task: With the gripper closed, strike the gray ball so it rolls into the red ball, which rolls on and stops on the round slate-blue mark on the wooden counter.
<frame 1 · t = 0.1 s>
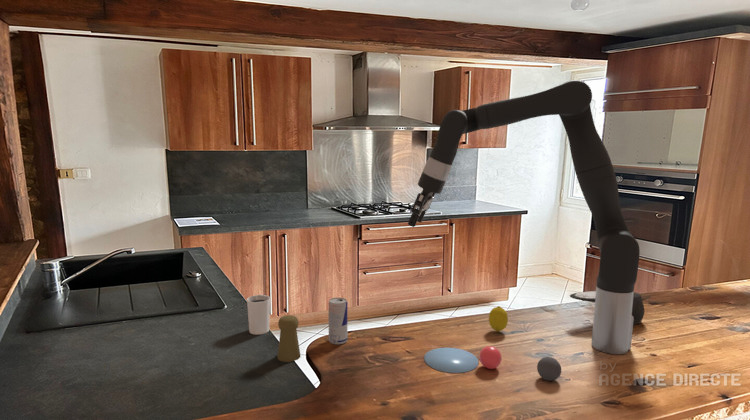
hand: (414, 223, 146), 31 cm above the countertop, tool tilted 20°, fingers open, 8 cm apart
blue mark: (451, 359, 125), on the countertop
red ball: (490, 357, 120), on the countertop
gray ball: (549, 368, 115), on the countertop
energy drink: (338, 341, 136), on the countertop
white cup: (259, 331, 142), on the countertop
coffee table: (604, 322, 152), on the countertop
cork: (289, 357, 126), on the countertop
lemon: (497, 332, 143), on the countertop
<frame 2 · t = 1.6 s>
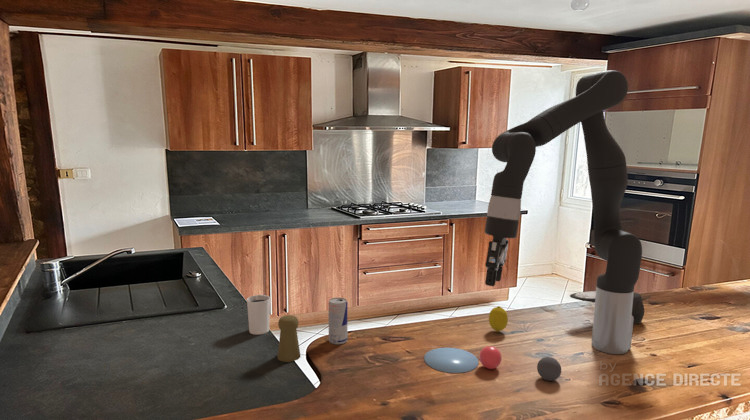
hand: (492, 283, 114), 23 cm above the countertop, tool pointing down, fingers open, 8 cm apart
nothing on the countertop moved.
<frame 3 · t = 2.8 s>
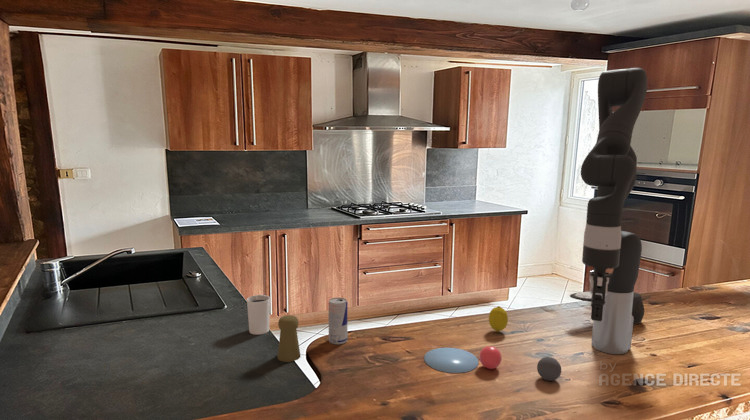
hand: (596, 313, 109), 18 cm above the countertop, tool pointing down, fingers open, 8 cm apart
nothing on the countertop moved.
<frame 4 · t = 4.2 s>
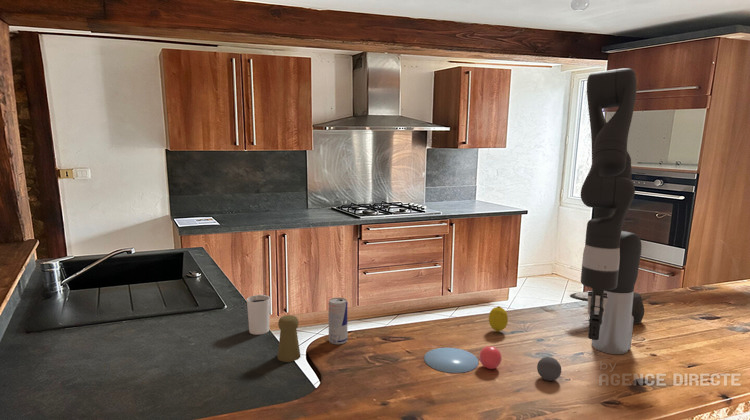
hand: (593, 338, 110), 12 cm above the countertop, tool pointing down, fingers closed
nothing on the countertop moved.
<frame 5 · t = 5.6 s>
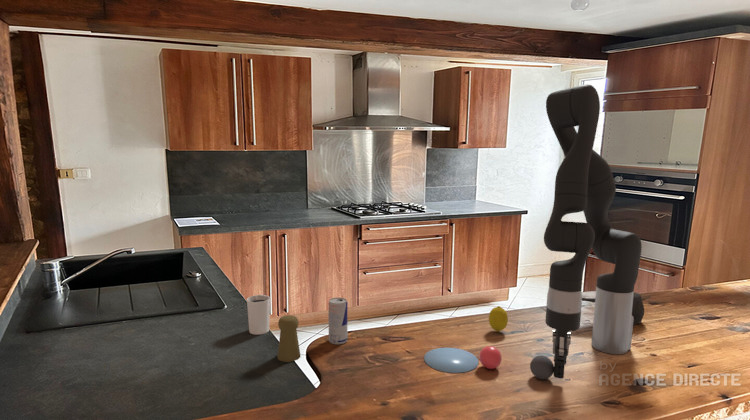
hand: (558, 376, 113), 2 cm above the countertop, tool pointing down, fingers closed
gray ball: (542, 367, 115), on the countertop, touching gripper
everything else where it was.
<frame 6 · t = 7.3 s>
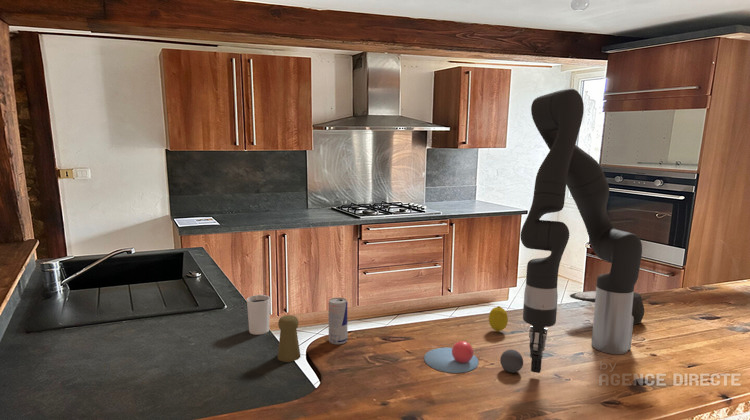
hand: (535, 371, 116), 2 cm above the countertop, tool pointing down, fingers closed
red ball: (462, 352, 123), on the countertop
gray ball: (511, 361, 118), on the countertop
everything else where it was.
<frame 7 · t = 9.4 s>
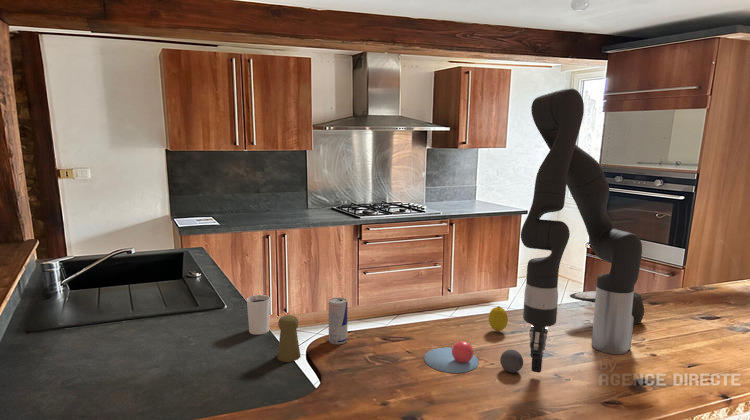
hand: (536, 370, 116), 2 cm above the countertop, tool pointing down, fingers closed
nothing on the countertop moved.
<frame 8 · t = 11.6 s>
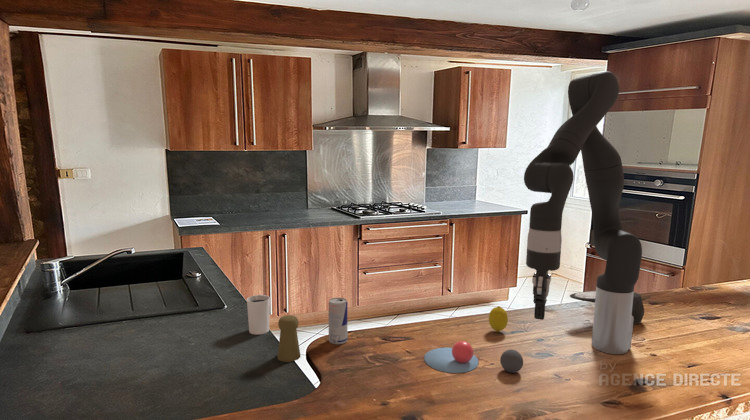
hand: (539, 318, 114), 15 cm above the countertop, tool pointing down, fingers closed
nothing on the countertop moved.
at the end: red ball 2.9 cm from the blue mark (horizontally); red ball never touched the robot; gray ball first touched red ball at 5.9 s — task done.
